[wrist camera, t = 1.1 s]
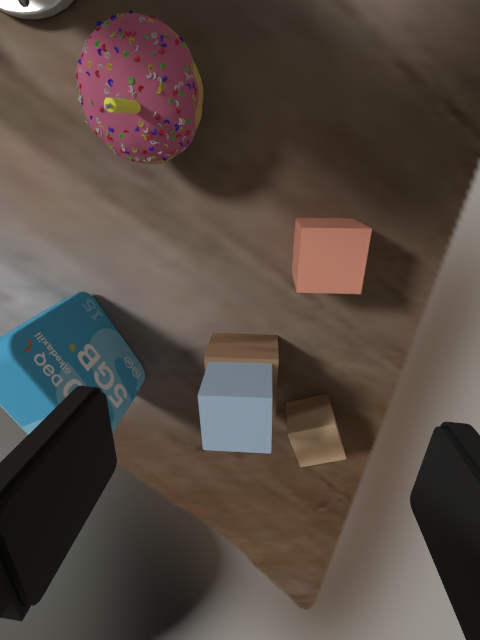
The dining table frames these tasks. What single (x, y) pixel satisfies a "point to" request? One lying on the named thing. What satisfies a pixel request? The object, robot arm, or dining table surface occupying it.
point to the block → (314, 431)
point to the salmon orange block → (330, 255)
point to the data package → (66, 362)
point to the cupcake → (140, 88)
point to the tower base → (246, 353)
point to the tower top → (236, 407)
